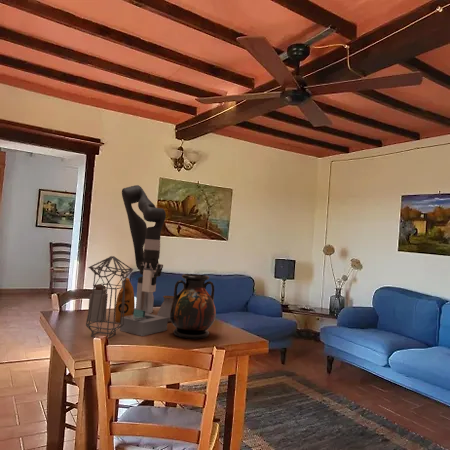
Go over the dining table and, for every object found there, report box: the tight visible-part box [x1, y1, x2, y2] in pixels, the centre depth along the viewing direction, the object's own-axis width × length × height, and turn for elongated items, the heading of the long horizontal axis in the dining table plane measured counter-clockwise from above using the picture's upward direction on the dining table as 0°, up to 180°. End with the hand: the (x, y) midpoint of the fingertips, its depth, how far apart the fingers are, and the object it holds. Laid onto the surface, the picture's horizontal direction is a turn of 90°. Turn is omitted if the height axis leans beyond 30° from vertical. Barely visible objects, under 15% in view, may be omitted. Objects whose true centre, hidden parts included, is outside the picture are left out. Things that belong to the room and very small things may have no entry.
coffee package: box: [115, 277, 136, 323], centre depth 207 cm, size 10×12×22 cm
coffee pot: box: [156, 295, 174, 323], centre depth 218 cm, size 21×12×15 cm, turn 104°
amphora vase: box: [170, 273, 217, 340], centre depth 188 cm, size 22×22×28 cm
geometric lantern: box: [85, 255, 134, 339], centre depth 177 cm, size 16×16×35 cm
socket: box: [119, 313, 168, 337], centre depth 191 cm, size 17×14×6 cm
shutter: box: [124, 308, 146, 321], centre depth 185 cm, size 6×7×4 cm
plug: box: [142, 268, 157, 293], centre depth 193 cm, size 5×5×11 cm
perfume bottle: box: [87, 284, 109, 323], centre depth 205 cm, size 7×7×18 cm
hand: (149, 284), depth 193 cm, fingers closed on plug, 4 cm apart
